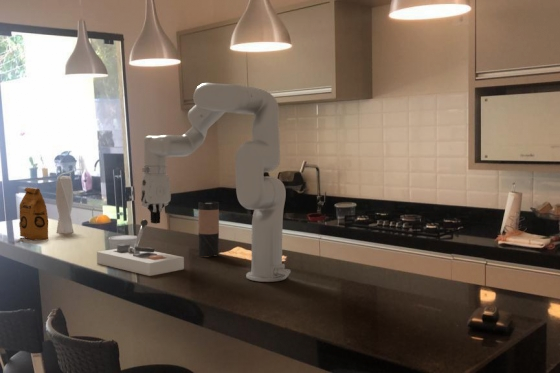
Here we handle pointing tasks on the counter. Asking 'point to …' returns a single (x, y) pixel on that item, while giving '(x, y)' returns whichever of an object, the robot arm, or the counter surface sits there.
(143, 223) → the toggle lever
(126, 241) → the ramekin
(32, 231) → the coffee package
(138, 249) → the black rocker
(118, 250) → the charcoal button
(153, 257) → the terracotta button
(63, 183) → the skyscraper
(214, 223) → the travel mug
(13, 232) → the counter surface
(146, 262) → the control panel
